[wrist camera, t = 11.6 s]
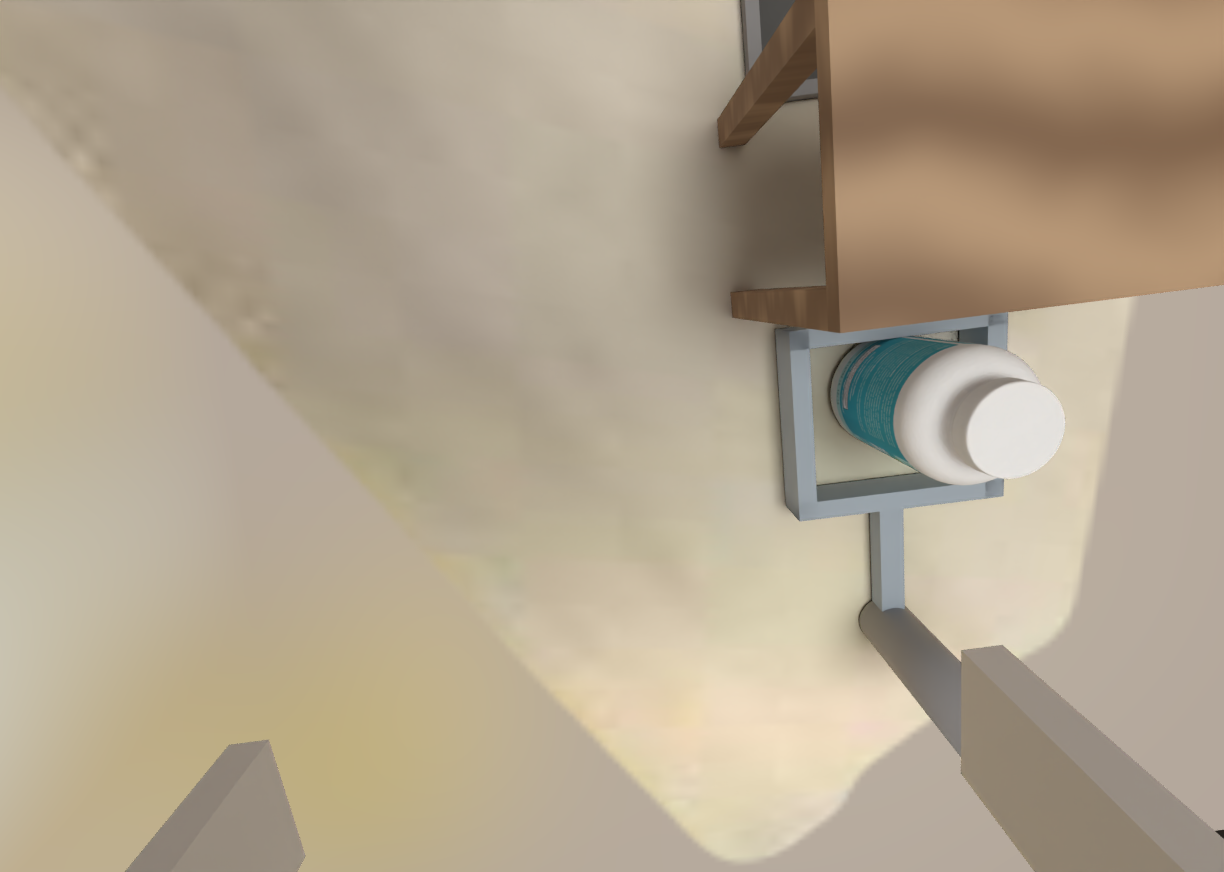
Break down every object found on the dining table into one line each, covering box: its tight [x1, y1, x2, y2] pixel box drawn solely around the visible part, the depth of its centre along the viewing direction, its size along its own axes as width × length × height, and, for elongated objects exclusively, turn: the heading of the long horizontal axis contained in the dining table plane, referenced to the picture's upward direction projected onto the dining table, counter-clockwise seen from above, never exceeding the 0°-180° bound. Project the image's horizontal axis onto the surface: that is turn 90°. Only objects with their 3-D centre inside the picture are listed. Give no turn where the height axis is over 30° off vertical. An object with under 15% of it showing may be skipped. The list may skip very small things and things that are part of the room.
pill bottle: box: [831, 336, 1065, 485], centre depth 34 cm, size 8×7×14 cm
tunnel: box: [717, 0, 1224, 333], centre depth 29 cm, size 12×19×18 cm, turn 97°
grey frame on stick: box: [775, 312, 1008, 757], centre depth 36 cm, size 24×13×13 cm, turn 7°
